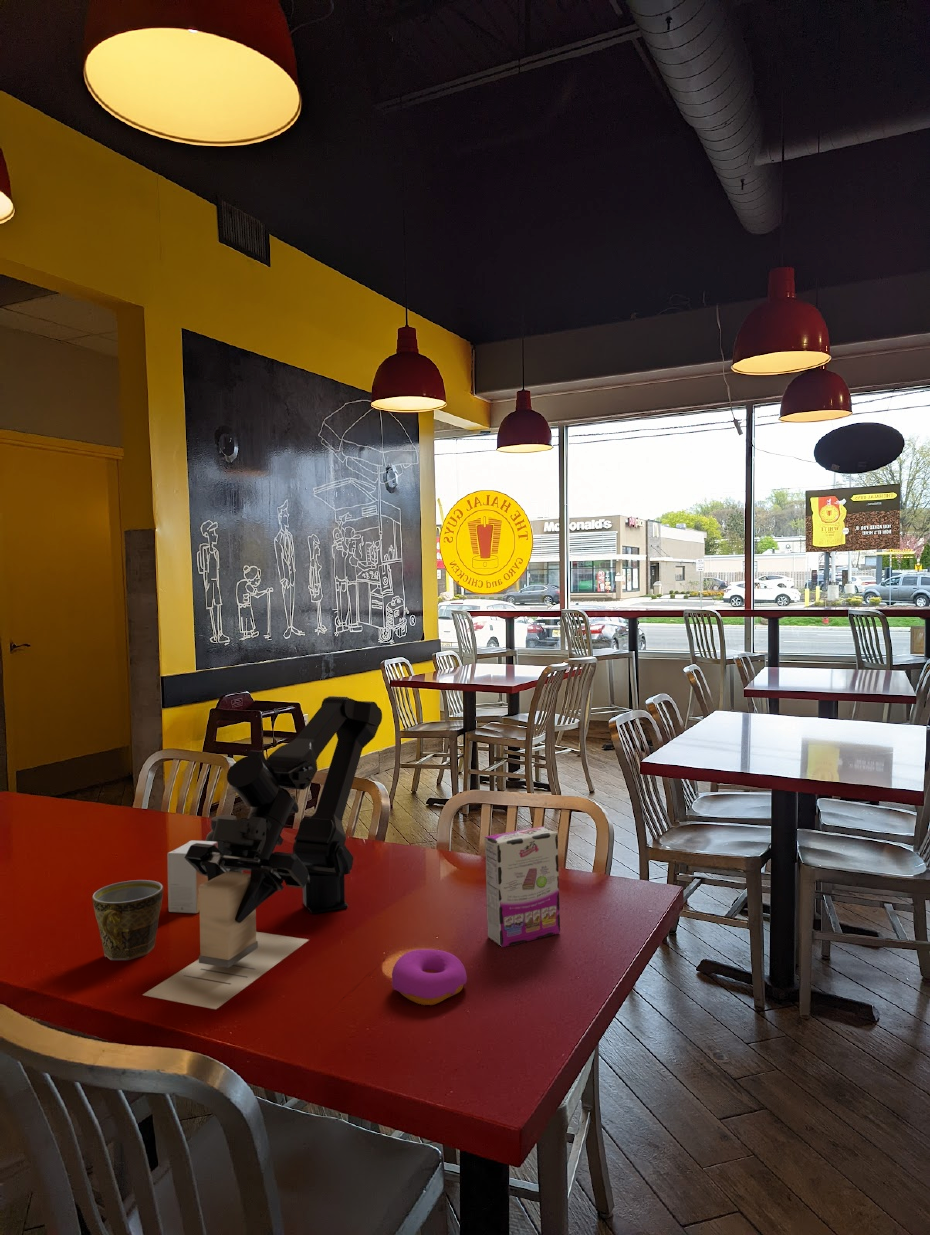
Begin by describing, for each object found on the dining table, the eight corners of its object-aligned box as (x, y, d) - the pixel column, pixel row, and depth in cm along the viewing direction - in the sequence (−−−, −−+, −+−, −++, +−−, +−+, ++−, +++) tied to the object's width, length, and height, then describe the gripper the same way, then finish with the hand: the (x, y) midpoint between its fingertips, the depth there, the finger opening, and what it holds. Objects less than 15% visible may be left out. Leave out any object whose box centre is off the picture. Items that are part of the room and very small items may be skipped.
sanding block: (229, 943, 122) (228, 870, 122) (257, 947, 120) (256, 874, 120) (199, 962, 115) (197, 886, 115) (228, 967, 114) (226, 889, 113)
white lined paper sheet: (244, 935, 131) (244, 930, 131) (309, 944, 127) (309, 939, 127) (142, 1000, 110) (142, 994, 110) (216, 1015, 106) (215, 1009, 106)
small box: (196, 914, 140) (195, 854, 140) (167, 912, 141) (166, 852, 141) (219, 898, 148) (218, 840, 148) (191, 896, 149) (190, 839, 149)
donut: (425, 1017, 105) (424, 982, 104) (376, 991, 112) (375, 958, 112) (481, 990, 112) (480, 957, 112) (431, 967, 119) (431, 936, 119)
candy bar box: (544, 923, 134) (542, 825, 134) (561, 934, 130) (559, 832, 130) (484, 937, 129) (483, 834, 129) (500, 948, 125) (499, 842, 124)
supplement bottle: (198, 882, 157) (197, 820, 157) (221, 871, 163) (220, 812, 163) (227, 886, 154) (226, 823, 154) (250, 875, 161) (248, 814, 160)
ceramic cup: (112, 942, 129) (111, 879, 129) (174, 942, 129) (173, 879, 129) (70, 980, 116) (69, 910, 116) (139, 980, 116) (137, 910, 116)
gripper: (191, 790, 124) (140, 886, 114) (296, 799, 118) (253, 901, 108) (224, 828, 132) (179, 921, 122) (325, 838, 125) (286, 937, 115)
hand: (222, 919), depth 116 cm, fingers closed on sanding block, 5 cm apart
